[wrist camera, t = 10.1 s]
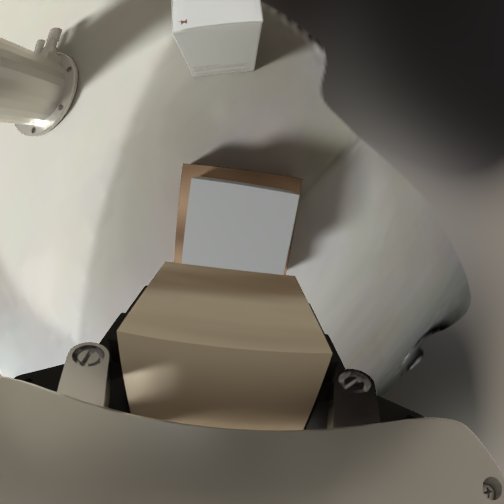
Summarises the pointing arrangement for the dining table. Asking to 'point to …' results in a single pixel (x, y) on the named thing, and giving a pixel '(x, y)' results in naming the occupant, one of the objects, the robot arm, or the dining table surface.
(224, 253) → the top block
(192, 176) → the base block
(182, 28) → the supplement box
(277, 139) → the dining table surface
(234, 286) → the ash cube
